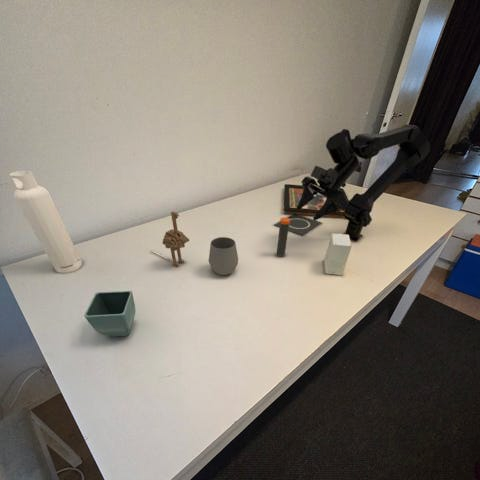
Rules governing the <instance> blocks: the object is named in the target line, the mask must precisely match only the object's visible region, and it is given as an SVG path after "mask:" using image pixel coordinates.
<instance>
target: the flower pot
mask: <svg viewBox="0 0 480 480" xmlns="http://www.w3.org/2000/svg"><path fill="white" fill-rule="evenodd" d="M135 316H136V304H135V298H134V295H133V291H132V290H119V291H98V292H95V293H94V295H93V297H92V299H91V301H90V303H89V305H88V306H87V309H86V311H85V313H84V315H83V317H84V318H85V320H86V321H87V322H88V323H89V324H90V326H91V327H92V328H93V329H94V330H95V331H96V332H97V333H98V334H101V335H102V336H105V337H107V338H108V337H109V338H112V337H113V338H114V337H128V336H130V334H131V331H132V328H133V327H132V326H133V324H134V320H135Z"/></svg>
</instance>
